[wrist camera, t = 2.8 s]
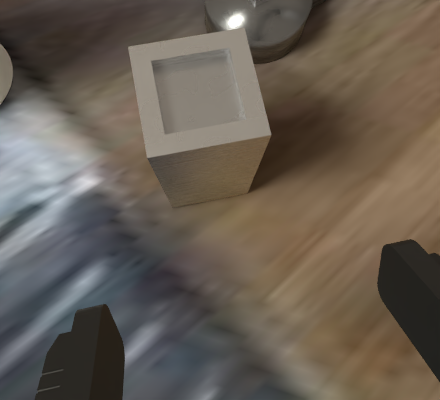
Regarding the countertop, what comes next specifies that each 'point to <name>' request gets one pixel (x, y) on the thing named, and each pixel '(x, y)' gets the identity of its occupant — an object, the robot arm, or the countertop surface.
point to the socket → (201, 114)
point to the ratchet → (261, 23)
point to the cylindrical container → (5, 73)
